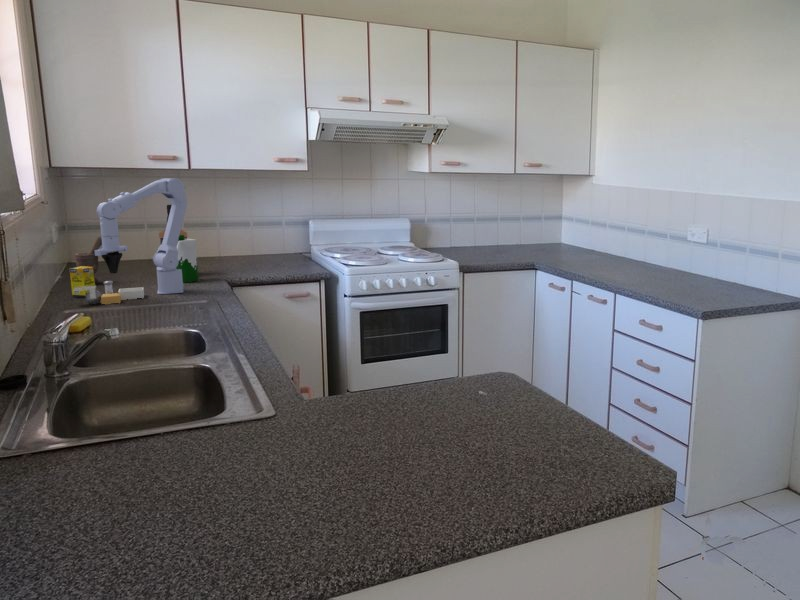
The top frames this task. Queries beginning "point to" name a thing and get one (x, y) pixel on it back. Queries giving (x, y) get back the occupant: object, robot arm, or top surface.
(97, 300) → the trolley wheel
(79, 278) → the supplement box
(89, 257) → the mortar and pestle
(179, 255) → the milk carton
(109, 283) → the pin
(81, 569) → the top surface
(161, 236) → the whiskey bottle
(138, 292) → the tray
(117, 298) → the block
